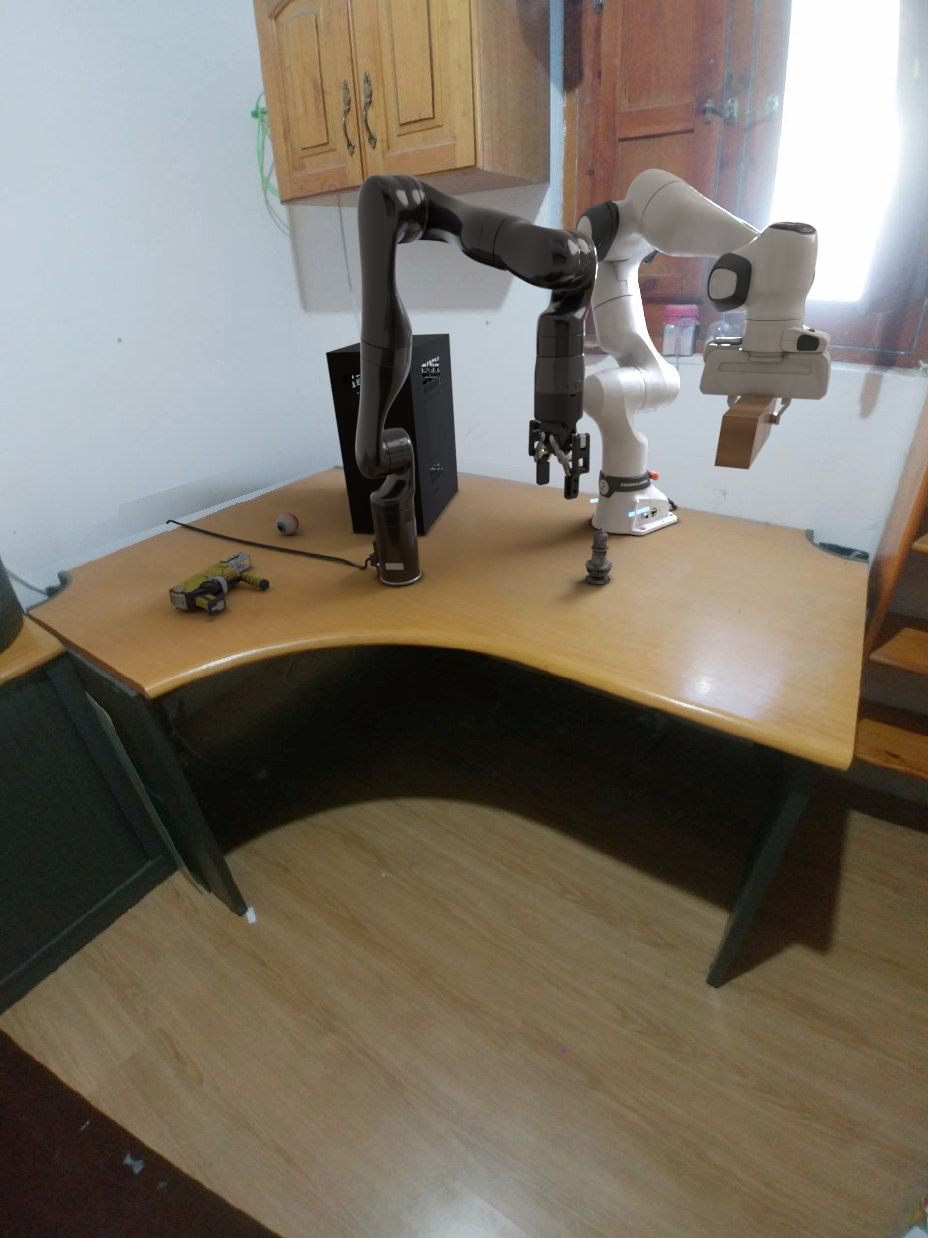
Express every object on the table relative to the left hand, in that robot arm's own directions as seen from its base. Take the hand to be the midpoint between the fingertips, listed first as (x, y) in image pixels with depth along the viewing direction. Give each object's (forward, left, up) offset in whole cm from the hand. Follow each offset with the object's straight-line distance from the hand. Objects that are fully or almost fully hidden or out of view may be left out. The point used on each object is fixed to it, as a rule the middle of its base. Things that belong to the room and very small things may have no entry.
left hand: (556, 491), depth 99 cm
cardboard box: (-69, +41, -28) cm, 85 cm away
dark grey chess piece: (-3, +26, -28) cm, 38 cm away
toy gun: (-70, -19, -28) cm, 78 cm away
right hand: (+22, +33, +6) cm, 40 cm away
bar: (+22, +25, +3) cm, 34 cm away
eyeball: (-87, +11, -28) cm, 92 cm away
